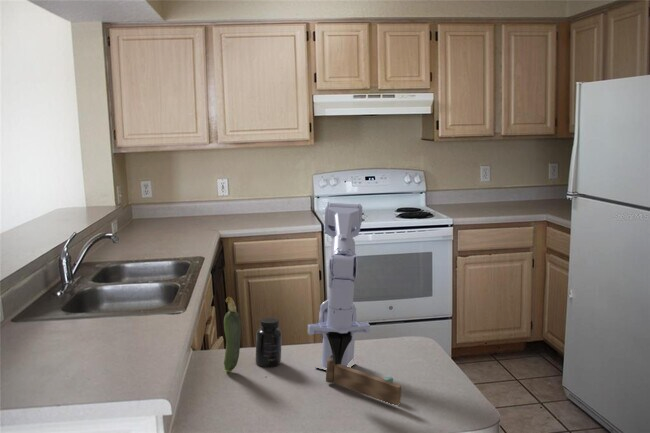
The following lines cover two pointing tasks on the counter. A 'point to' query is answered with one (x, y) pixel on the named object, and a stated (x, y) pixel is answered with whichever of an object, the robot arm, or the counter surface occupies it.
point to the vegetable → (232, 336)
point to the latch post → (389, 379)
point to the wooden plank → (363, 382)
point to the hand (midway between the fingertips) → (336, 362)
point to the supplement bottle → (268, 343)
